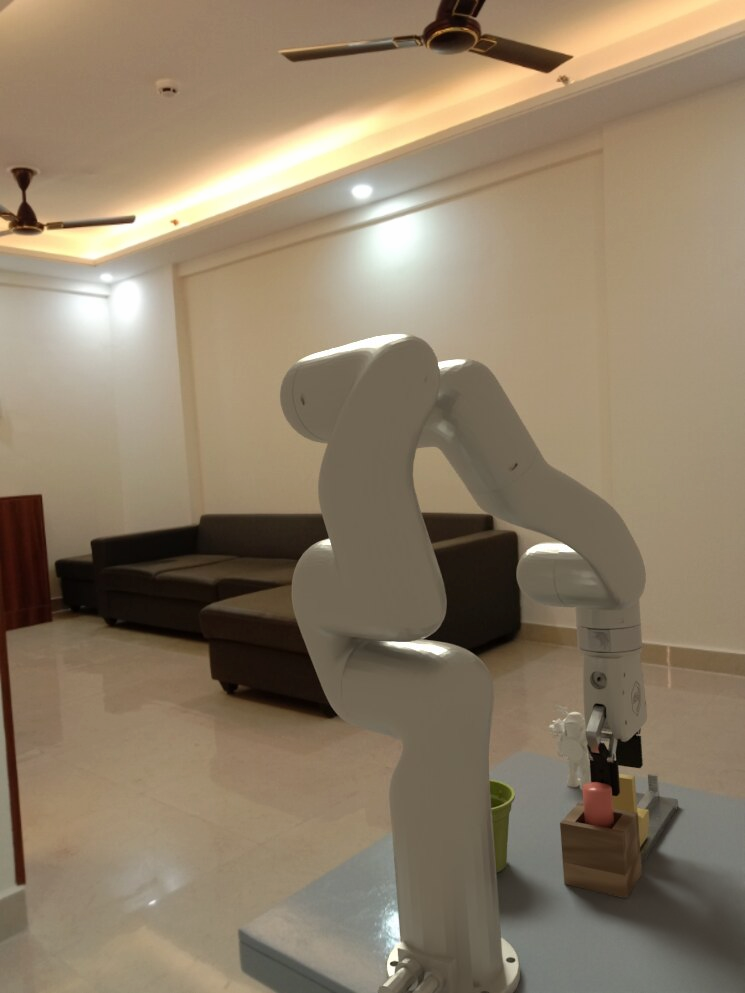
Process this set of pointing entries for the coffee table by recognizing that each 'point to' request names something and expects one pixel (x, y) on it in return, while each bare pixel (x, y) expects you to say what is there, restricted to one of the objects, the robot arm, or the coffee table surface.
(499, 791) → the plant pot
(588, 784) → the plunger
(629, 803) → the carriage
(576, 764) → the flower shoulder figurine
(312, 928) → the coffee table surface
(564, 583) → the robot arm
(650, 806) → the rail
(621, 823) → the wooden box
